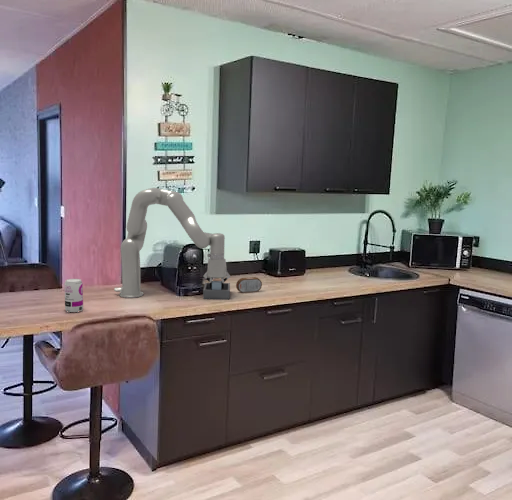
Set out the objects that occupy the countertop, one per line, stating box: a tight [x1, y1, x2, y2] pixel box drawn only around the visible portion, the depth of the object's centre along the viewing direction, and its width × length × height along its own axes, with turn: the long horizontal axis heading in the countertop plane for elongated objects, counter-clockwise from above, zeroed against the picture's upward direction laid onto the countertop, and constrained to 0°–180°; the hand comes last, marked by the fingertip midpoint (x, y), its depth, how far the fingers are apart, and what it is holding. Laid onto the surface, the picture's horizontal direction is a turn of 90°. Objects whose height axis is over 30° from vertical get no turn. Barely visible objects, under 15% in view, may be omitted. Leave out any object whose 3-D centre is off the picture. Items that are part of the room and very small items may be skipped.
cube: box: [212, 280, 221, 290], centre depth 284 cm, size 5×5×5 cm
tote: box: [202, 282, 231, 301], centre depth 289 cm, size 14×18×5 cm
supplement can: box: [64, 278, 84, 313], centre depth 251 cm, size 8×8×15 cm
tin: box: [235, 276, 263, 294], centre depth 298 cm, size 15×3×8 cm, turn 113°
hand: (216, 289), depth 285 cm, fingers closed on cube, 4 cm apart
